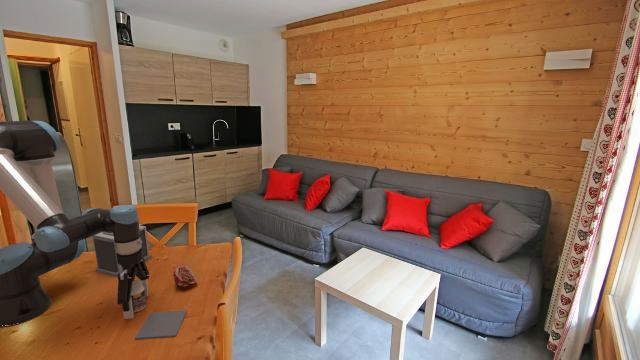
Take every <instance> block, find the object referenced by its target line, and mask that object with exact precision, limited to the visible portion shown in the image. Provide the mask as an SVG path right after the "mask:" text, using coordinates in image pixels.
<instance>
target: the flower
mask: <svg viewBox="0 0 640 360" xmlns="http://www.w3.org/2000/svg"><path fill="white" fill-rule="evenodd" d="M172 272H173V273H172V274H173V280H174V283H175V284H174V285H173V286H176V287H178V286H180V288H184V289H186V287H189V286H190V285H189V284H191V285H193V284H195V283H196V282H198V279H197V278H196V277H195V274H196V273H194V272H193V270H192V268H191V267H190V266H189V265H188V264H187V265H183V264H181V265H178V266H177V265H176V267H175V269H174V270H173V271H172Z"/></svg>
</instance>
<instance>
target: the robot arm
mask: <svg viewBox="0 0 640 360" xmlns="http://www.w3.org/2000/svg"><path fill="white" fill-rule="evenodd" d="M60 146H61V140H60V136H59V134H58V132H57V131H56V129H55V128H54V127H53V126H51V125H50V124H49V123H47V122H45V121H41V120H31V119H30V120H10V121H9V120H7V121H0V190H1V192H2V193H3V194H4V195H5V196H6V197H7V199H8V200H9V201H11V203H13V205H14V206H15V207H16V208H17V209H18V210H19V211H20V213H21V214H22V215H23V216H24V217H25V218H26V219H27V221H29V222H30V224H32V226H33V227H34V232H33V234H32V235H31V236H30V237H31V241H32V243H30V242H27V241H26V242H24V241H23V242H17V243H15V244H9V245H5V246H3V247H1V248H0V326H2V325H3V326H4V327H6V326H5V325H11V326H14V325H13V324H16V325H18V324H17V323H19V324H22V323H25V322H28V321H31V320H32V318H33V319H34V317H35V318H37V317H39V316H40V315H42V314H43V313H45V312H46V311H47V310H48V309H49V308H50V307H51V305H52V299H51V298H52V297H51V296H50V295H49V293H47V292H46V290H45V289H44V287H43V286H42V284H41V281H40V277H41V276H42V275H45V274H47V273H49V272H52V271H54V270H56V269H58V268H60V267H62V266H65V265H68V264H70V263H71V262H73V261H75V260H77V259H79V258H80V257H81V255H83V253H84V249H85V241H84V240H86V239H89V238H91V237H93V236H94V235H96V234H99V233H101V232H107V233H113V235H114V242H115V249H116V252H117V254H116V255H117V262H118V264H119V265H121V266H123V272H122V273H119V274H118V277H117V282H118V283H117V297H116V298H117V299H116V304H117V305H122V311H123V312H122V313H123V319H125V320H127V319H133V318H134V317H135V314H134V312H133V307H132V300H130V296H131V289H132V283H133V281H134V280H136V277H137V279H138V280H141V281H142V286H143V287H144V289H145V297H147V298H148V297H149V289H148V281H147V280H149V279H150V276H149V275H150V272H149V269H148V267H147V264H146V262H145V261H144V256H143V252H142V248H141V247H142V245H141V243H142V241H141V237H140V229H139V225H140V222H139V214H138V209H137V207H136V206H135V205H132V204H120V205H116V206H113V207H112V208H110V209H108V208H101V207H96V208H95V207H92V208H88V209H86V210H85V211H84V212H82V213H81V215H79V216H75V217H72V218H69V217H68V216H67V215H66V214H65V213H64V210H63V207H62V203H61V198H60V195H59V191H58V187H57V182H56V178H55V173H54V170H53V166H52V161H54V160H55V158H56V154H55V153H56V152H57V151H59V149H60ZM27 320H28V321H27ZM24 321H25V322H24ZM21 322H22V323H21Z"/></svg>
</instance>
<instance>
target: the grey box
mask: <svg viewBox="0 0 640 360" xmlns="http://www.w3.org/2000/svg"><path fill="white" fill-rule="evenodd" d="M139 229H140V237H141V241H142V243H141V245H142V247H141V248H142V252H143V256H144V261H145V263H146V262H147V261H149V260H151V259H152V258H153V257H152V254H151V253H150V249H149V240H148V232H147V226H145V225H140V224H139ZM92 240H93V241H92V242H93V246H94V247H93V248H94V254H95V258H96V264H97V266H96V267H95V268H94V269H95V273H98V274H101V275H105V276H110V277H114V278H118V274H119V273H122V272H123V266H121V265H119V264H118V262H117V255H116V254H117V252H116V249H115V242H114V235H113V233H107V232H101V233H99V234H96V235H94V236H92Z"/></svg>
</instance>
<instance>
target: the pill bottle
mask: <svg viewBox="0 0 640 360" xmlns="http://www.w3.org/2000/svg"><path fill="white" fill-rule="evenodd" d="M130 300H132V307H133V313H138V312H141V311H143V310H144V309H145V308H146V307H147V300H146V297H145V289H144V287H143V286H142V281H141V280H139V279H134V281H133V283H132V289H131V296H130Z"/></svg>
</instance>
